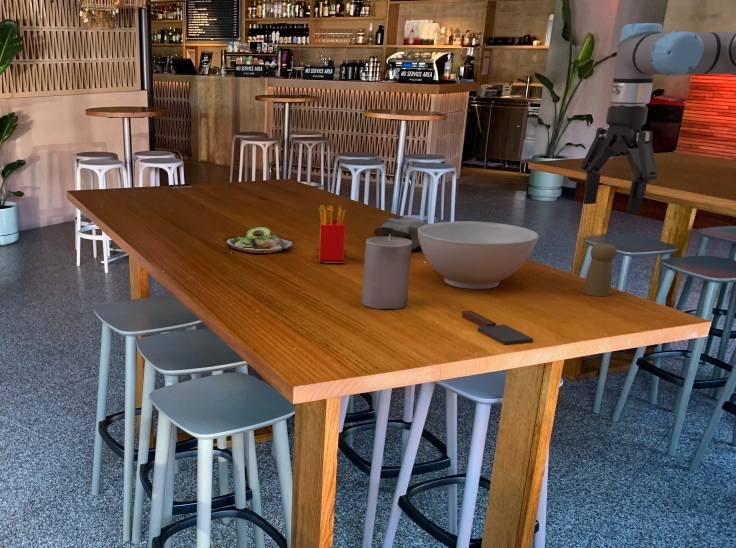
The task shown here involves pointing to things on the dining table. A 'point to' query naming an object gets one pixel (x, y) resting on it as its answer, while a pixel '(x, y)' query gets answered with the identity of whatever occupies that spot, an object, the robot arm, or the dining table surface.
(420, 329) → the dining table surface
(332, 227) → the french fries container
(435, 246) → the decorative bowl
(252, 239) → the salad plate
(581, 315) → the dining table surface
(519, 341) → the spatula
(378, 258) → the pillar candle
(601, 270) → the pepper mill
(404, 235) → the rock
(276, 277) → the dining table surface
